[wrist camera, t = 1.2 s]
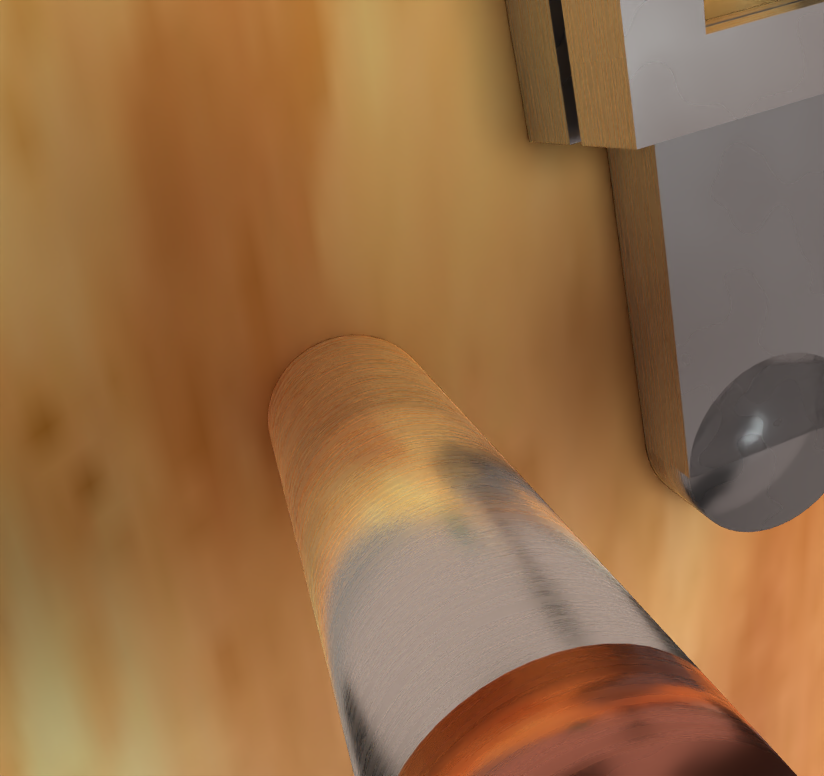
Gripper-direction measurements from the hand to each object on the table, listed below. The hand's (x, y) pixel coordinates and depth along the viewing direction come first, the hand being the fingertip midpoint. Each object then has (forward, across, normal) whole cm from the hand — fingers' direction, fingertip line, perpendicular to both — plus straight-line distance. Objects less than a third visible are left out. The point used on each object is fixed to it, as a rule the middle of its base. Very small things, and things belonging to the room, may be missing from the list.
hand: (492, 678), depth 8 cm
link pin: (+7, 0, 0) cm, 7 cm away
